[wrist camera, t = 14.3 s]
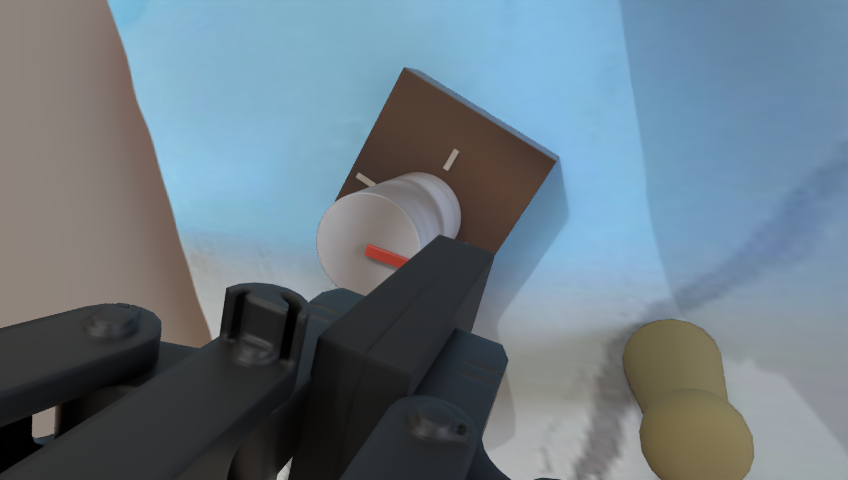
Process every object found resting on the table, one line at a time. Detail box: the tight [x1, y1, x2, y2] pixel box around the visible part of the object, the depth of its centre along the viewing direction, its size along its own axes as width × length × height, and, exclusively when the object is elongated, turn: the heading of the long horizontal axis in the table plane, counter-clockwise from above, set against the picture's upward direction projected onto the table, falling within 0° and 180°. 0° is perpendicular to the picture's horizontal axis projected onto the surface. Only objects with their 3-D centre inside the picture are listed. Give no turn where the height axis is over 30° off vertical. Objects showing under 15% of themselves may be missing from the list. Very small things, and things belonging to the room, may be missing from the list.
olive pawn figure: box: [622, 319, 754, 480], centre depth 32 cm, size 6×6×11 cm
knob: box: [316, 172, 461, 296], centre depth 32 cm, size 6×6×9 cm
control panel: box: [334, 67, 559, 254], centre depth 37 cm, size 13×11×3 cm
